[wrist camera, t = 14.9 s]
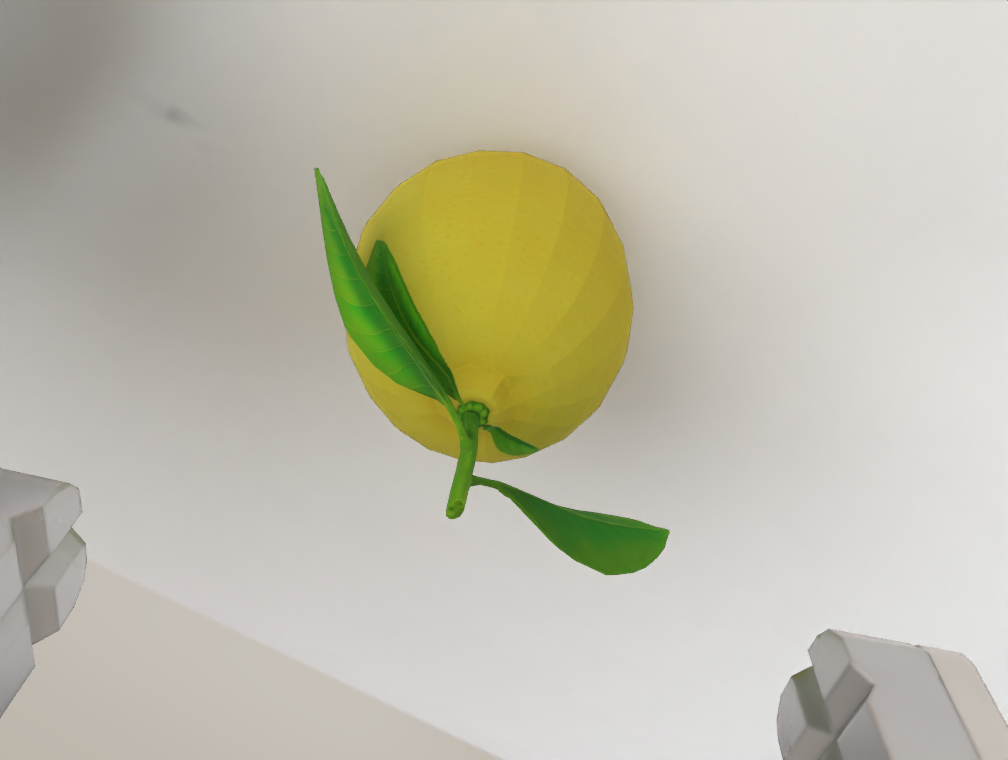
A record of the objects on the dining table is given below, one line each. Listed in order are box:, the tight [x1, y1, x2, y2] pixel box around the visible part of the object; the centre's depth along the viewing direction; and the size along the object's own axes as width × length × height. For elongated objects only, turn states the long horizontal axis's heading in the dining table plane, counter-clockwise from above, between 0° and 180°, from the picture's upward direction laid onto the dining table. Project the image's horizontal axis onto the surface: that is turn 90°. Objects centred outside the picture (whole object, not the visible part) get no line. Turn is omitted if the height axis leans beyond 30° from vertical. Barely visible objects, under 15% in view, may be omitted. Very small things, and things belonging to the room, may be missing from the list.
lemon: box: [314, 151, 670, 575], centre depth 14 cm, size 7×6×10 cm
